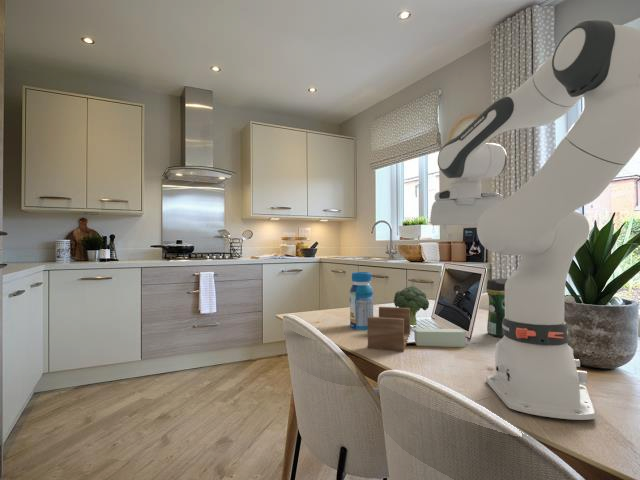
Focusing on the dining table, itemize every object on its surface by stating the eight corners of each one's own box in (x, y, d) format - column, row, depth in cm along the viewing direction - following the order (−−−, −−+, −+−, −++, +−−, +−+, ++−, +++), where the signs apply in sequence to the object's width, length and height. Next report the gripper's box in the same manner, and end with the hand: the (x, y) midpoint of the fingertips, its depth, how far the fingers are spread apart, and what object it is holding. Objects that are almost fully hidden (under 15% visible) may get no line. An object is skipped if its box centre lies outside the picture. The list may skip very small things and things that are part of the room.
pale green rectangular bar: (461, 344, 114) (461, 329, 114) (465, 347, 110) (465, 332, 110) (414, 343, 115) (414, 328, 115) (416, 346, 111) (416, 331, 111)
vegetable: (415, 333, 126) (414, 288, 127) (385, 327, 136) (385, 285, 136) (435, 328, 134) (435, 286, 135) (405, 322, 144) (405, 283, 144)
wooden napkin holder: (403, 352, 105) (403, 319, 105) (367, 349, 108) (367, 317, 108) (410, 335, 124) (409, 308, 124) (379, 333, 127) (379, 306, 127)
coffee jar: (510, 332, 128) (510, 277, 128) (524, 337, 120) (524, 279, 120) (483, 332, 127) (482, 277, 128) (495, 338, 120) (494, 279, 120)
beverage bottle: (366, 333, 127) (365, 273, 127) (345, 330, 132) (344, 272, 132) (378, 329, 134) (377, 272, 134) (357, 325, 139) (357, 271, 139)
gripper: (501, 193, 113) (502, 239, 113) (430, 196, 119) (430, 240, 119) (505, 190, 107) (505, 239, 107) (429, 194, 113) (430, 240, 113)
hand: (465, 240), depth 113 cm, fingers open, 8 cm apart
